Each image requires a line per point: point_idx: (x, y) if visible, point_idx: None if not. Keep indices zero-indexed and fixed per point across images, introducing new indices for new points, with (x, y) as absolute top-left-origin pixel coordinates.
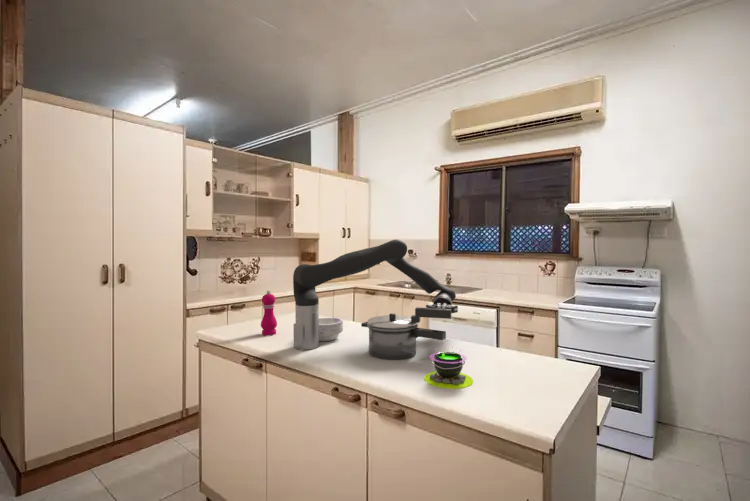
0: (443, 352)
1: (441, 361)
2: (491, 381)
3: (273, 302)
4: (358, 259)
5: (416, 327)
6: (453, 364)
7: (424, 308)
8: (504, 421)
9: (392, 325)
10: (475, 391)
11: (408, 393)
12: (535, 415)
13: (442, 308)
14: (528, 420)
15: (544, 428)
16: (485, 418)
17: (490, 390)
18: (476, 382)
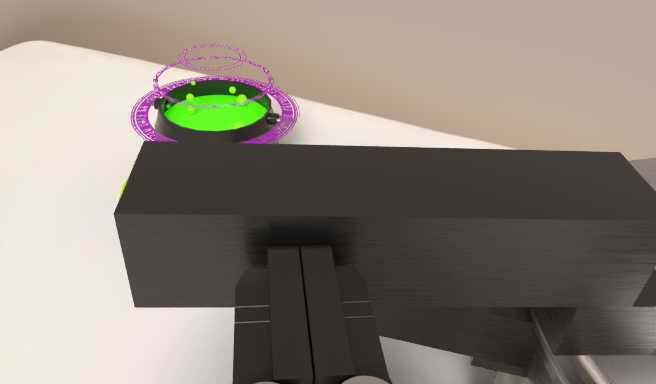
0: (238, 127)
1: (244, 92)
2: (39, 203)
3: None
4: None
5: (532, 318)
6: (197, 96)
7: (529, 184)
8: (103, 58)
9: (647, 167)
10: (133, 138)
11: (336, 109)
12: (12, 76)
13: (280, 355)
14: (44, 64)
15: (25, 51)
16: (142, 61)
17: (77, 149)
18: (109, 187)
